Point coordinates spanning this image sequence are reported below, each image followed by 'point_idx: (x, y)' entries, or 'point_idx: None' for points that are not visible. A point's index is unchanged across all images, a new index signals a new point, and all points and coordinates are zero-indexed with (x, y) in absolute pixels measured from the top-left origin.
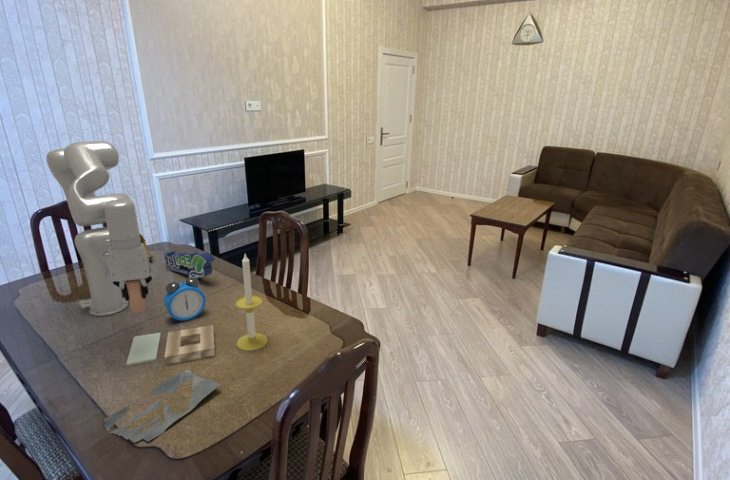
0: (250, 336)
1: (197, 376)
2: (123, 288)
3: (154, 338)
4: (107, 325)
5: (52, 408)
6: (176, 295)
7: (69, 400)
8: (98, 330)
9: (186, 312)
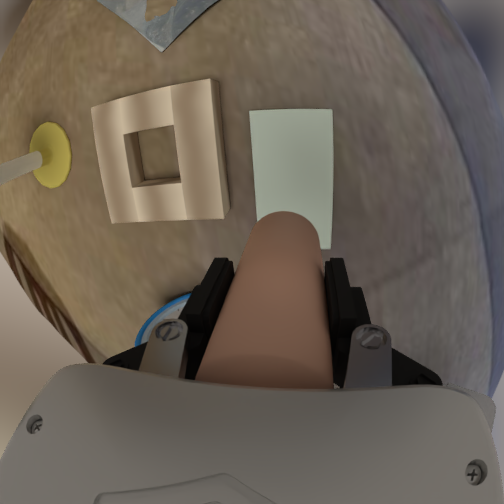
0: (35, 152)
1: (135, 28)
2: (356, 329)
3: None
4: (392, 323)
5: (449, 19)
6: None
7: (428, 26)
8: (410, 308)
9: None
